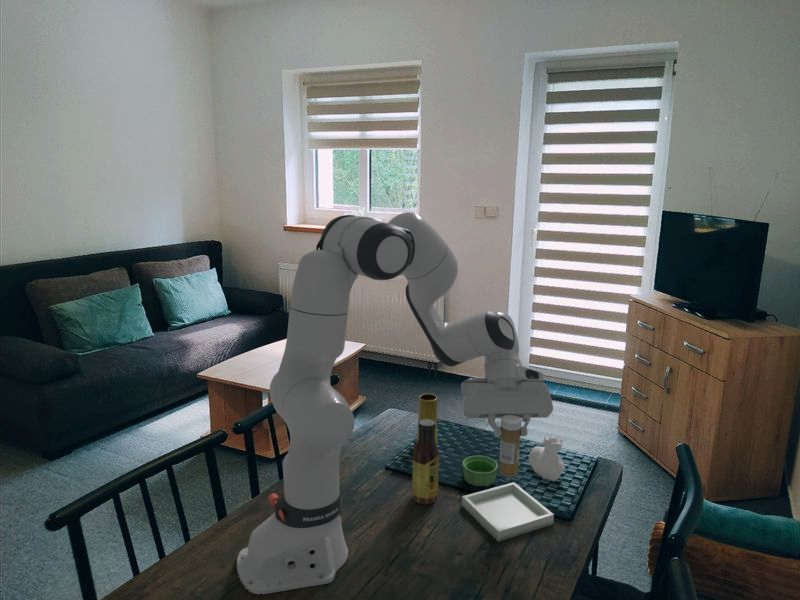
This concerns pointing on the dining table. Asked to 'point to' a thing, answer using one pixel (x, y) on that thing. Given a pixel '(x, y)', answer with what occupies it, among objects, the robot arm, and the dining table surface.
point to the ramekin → (480, 470)
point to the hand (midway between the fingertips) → (510, 435)
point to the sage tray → (507, 511)
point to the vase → (428, 410)
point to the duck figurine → (547, 458)
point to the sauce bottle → (425, 464)
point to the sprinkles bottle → (510, 445)
